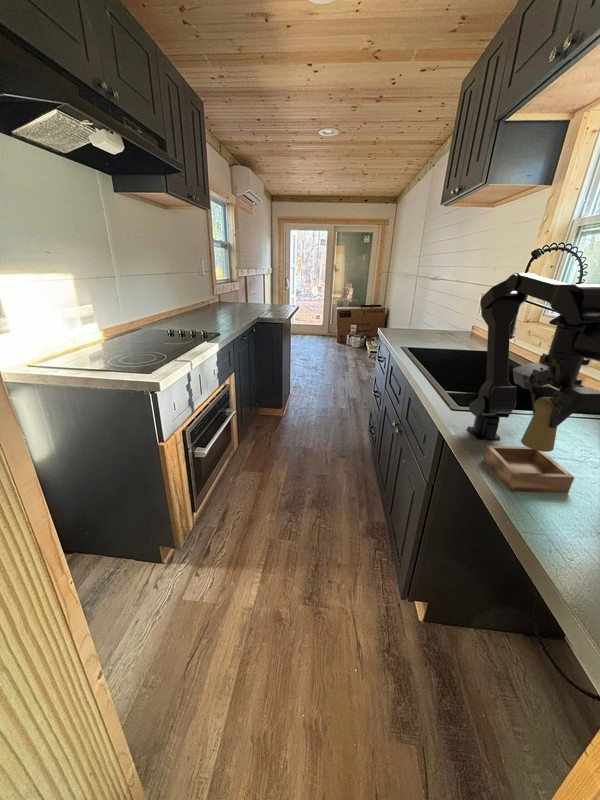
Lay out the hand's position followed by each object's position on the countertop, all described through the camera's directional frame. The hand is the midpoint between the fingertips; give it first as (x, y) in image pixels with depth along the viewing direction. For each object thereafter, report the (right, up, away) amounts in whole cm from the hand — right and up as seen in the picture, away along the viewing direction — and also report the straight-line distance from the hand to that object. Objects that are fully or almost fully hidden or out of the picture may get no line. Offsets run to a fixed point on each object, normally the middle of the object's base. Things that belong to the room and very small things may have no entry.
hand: (543, 422), depth 70 cm
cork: (0, -5, +2) cm, 6 cm away
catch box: (-2, -12, +4) cm, 13 cm away
